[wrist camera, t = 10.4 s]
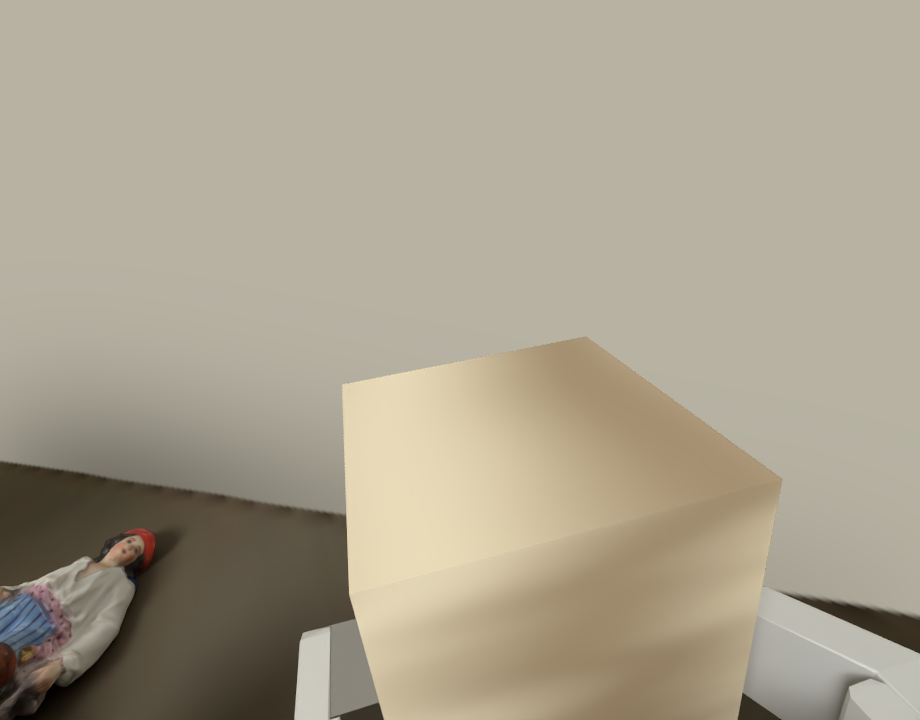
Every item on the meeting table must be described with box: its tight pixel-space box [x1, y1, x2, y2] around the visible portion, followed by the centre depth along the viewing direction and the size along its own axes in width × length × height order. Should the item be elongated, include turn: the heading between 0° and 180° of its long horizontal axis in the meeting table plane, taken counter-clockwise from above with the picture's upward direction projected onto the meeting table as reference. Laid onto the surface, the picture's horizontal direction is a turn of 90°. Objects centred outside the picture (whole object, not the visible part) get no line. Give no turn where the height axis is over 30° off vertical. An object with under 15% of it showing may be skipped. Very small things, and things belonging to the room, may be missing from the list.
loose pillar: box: [342, 337, 782, 720], centre depth 9 cm, size 4×4×10 cm
